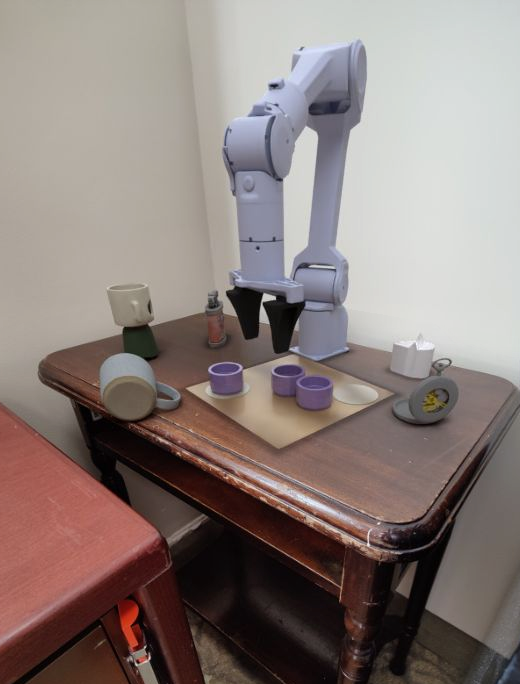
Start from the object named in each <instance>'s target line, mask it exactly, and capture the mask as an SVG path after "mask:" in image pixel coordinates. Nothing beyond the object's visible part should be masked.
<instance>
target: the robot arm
mask: <svg viewBox="0 0 520 684" xmlns="http://www.w3.org/2000/svg"><path fill="white" fill-rule="evenodd" d="M367 60H368V58H367V51H366V47H365V45H364V43H363V41H362V39H361V38H356V39H355V38H354V40H351V41H343V42H337V43H336V42H335V43H329V44H321V45H314V46H308V47H305V46H299V47H297V49H296V50H295V51H294V52H293V53H292V58H291V66H290V67H291V68H290V75H289V76H288V78H287V79H284V77H274V78H271V79H270V80H269V81H268V83H267V88H268V89H267V90H266V91H265V92H264V94H263V95H262V96H261V98H259V100H256V101H255V102H254V103H253V105H252V109H251V110H250V111H249V113H248V114H247V115H246V116H245V117H235V118H233V119H232V121H231V122H230V123H229V125H228V126H227V127H226V128H225V130H224V134H223V139H222V140H223V141H222V142H223V143H222V146H221V155H222V160H223V164H224V166H225V170H226V172H227V174H228V177H229V184H230V191H231V194H232V196H233V197H235V203H236V205H235V206H236V218H237V232H238V244H239V246H238V248H239V260H240V268H238V269H229V270H228V279H229V285H230V286H234V287H233V288H232V289H228V290H227V289H226V290H225V296H226V298H227V299H228V301H229V302H230V304H231V306H232V307H233V309H234V311H235V314H236V317H237V320H238V323H239V326H240V329H241V332H242V335H243V339H244V340H245V341H250V340H254V339H258V338H259V333H260V319H261V318H260V315H261V306H262V307H263V309H264V312H265V314H266V316H267V319H268V323H269V328H270V335H271V345H272V349H273V352H274V354H276V355H281V354H284V353H288V352H290V353H292V354H297V355H300V356H302V357H305V358H307V359H310V360H312V361H315V362H320V361H323V360H326V359H329V358H331V357H335V356H337V355H340V354H343V353H346V352H349V351H350V347H348V346H347V341H348V340H347V339H348V328H349V315H348V311H347V309H346V307H345V306H344V305H343V304H344V303H345V302H346V299H347V296H348V291H349V281H350V280H349V269H350V265H349V262H348V260H347V258H346V257H345V256H344V255H343V254H342V253H341V252H340V251H339V250H338V249H337V248H336V245H337V237H338V228H339V220H340V211H341V203H342V197H343V196H342V195H343V187H344V186H343V185H344V178H345V169H346V162H347V153H348V146H349V140H350V136H351V131H352V130H353V129H354V128H355V127H357V125H359V124H360V123H361V121H362V113H363V112H364V105H365V95H366V88H367V80H368V61H367ZM305 128H309V129H311V130H312V131H314V132H315V133H316V134H317V144H316V145H317V146H316V156H315V164H314V165H315V166H314V177H313V186H312V187H313V188H312V197H311V210H310V219H309V230H308V238H307V239H308V240H307V245H306V247H305V248H304V249H302V250H301V251H300V252H299V253H298V254H297V255H295V256H294V258H293V261H292V266H291V267H292V268H291V272H290V274H289V277H288V276H286V275H285V274H286V273H285V272H286V271H285V210H284V209H285V208H284V207H285V204H284V200H285V199H284V197H285V196H284V179H285V178H287V176H289V174H290V172H291V167H292V162H293V155H294V153H295V149H296V142H297V140H298V139H299V137H300V136H301V135H302V133H303V131H304V130H305ZM315 266H322V267H315ZM324 266H325V267H324ZM328 267H329V268H328ZM330 267H331V268H330ZM332 267H333V268H332ZM264 294H266V295H268V296H271V297H275V299H270V300H266V301H263V297H264ZM297 323H298V344H297V345H298V346H297V345H296V346H294V347H290V346H291V343H292V339H293V335H294V331H295V328H296V325H297Z"/></svg>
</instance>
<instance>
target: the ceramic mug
mask: <svg viewBox="0 0 520 684" xmlns="http://www.w3.org/2000/svg"><path fill="white" fill-rule="evenodd" d="M98 376H99V390H100V391H99V393H100V400H101V402H102V405H103V407H104V409H105V410H106V411H107V412H108V413H109V415H111V416H112V417H114V418H116V419H118V420H121V421H125V422H134V421H139V420H140V421H141V420H142V419H144V418H146V417H147V416H149V415H150V414H151V413H152V412H153V411H154V409H160V410H166V411H167V410H175V409H177V408H178V407H179V405H180V401H181V397H182V396H181V394H180V392H179V391H178V390H176V389H175V388H174V387H172V386H170V385H167V384H166V383H163V382H161V381H158V380H157V381H156V377H155V373H154V369H153V368H152V367H151V365H150V363H148V362H147V360H146V359H143V358H141V357H139V356H136V355H133V354H129V353H125V352H123V353H122V352H121V353H117V354H114V355H111V356H110V357H108V358H106V359H105V361H104V362H103V363H102V364H101V366H100V369H99V375H98ZM158 393H160V394H163V395H164V396H168V397H169V398H171V400H170V399H164V398H158Z"/></svg>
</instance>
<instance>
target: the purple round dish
mask: <svg viewBox="0 0 520 684" xmlns="http://www.w3.org/2000/svg"><path fill="white" fill-rule="evenodd" d="M332 400H333V381H332V380H331V379H330V378H328V377H326V376H321V375H308V376H304V377H301V378H299V379H298V380H297V383H296V402H297V403H298V405H299V407H301V408H302V409H304V410H308V411H322V410H325V409H327V408H329V407H330V405H331V403H332Z"/></svg>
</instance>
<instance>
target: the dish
mask: <svg viewBox="0 0 520 684" xmlns="http://www.w3.org/2000/svg"><path fill="white" fill-rule="evenodd" d="M243 370H244V367H243V365H242V364H240V363H237V362H232V361H224V362H218V363H214V364H212V365H210V366H209V367H208V369H207V374H208V381H209V383H210V388H211V390H212V391H213V392H214V393H215V394H218V395H233V394H237V393H239V392H240V391H242V389H243V387H244V377H243Z"/></svg>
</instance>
